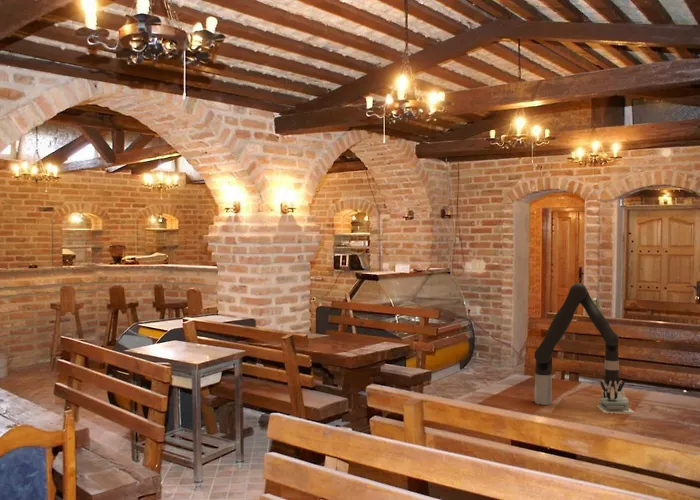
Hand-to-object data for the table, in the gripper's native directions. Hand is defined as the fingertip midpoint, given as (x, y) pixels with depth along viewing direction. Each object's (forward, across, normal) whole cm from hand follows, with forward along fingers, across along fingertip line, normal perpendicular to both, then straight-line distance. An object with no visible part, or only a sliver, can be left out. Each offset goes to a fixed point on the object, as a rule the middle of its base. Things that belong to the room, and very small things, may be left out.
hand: (611, 398), depth 357 cm
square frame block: (+6, +1, -1) cm, 7 cm away
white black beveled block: (+7, +6, +16) cm, 19 cm away
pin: (+4, 0, 0) cm, 4 cm away
